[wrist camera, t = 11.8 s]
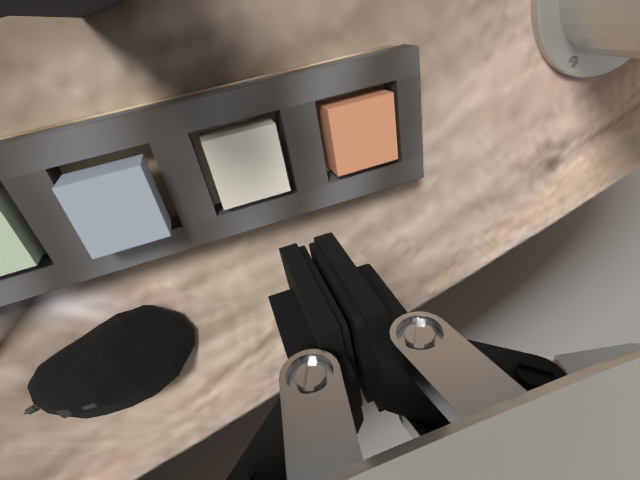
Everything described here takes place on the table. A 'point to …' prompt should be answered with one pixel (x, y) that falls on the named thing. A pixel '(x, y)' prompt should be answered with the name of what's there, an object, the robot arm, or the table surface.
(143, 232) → the key slate
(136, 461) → the table surface
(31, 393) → the gaming mouse
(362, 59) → the keypad
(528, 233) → the table surface
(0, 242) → the key sage
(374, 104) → the key terracotta
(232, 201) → the key ivory
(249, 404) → the table surface
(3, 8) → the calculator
